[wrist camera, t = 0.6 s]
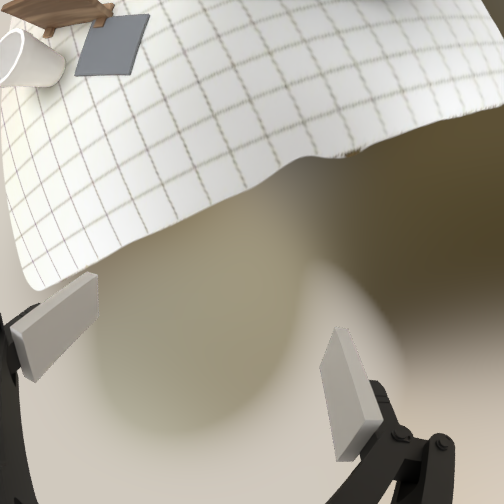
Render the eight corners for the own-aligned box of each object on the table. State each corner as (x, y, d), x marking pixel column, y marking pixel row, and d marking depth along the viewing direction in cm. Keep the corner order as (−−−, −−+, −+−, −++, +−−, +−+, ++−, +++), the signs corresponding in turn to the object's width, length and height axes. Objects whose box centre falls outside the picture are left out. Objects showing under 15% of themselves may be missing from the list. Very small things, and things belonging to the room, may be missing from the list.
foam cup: (77, 72, 36) (27, 54, 23) (41, 105, 37) (-10, 98, 25) (65, 38, 34) (21, 17, 21) (31, 70, 35) (-15, 58, 23)
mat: (95, 20, 33) (93, 19, 32) (149, 15, 33) (148, 13, 32) (76, 76, 36) (74, 75, 35) (130, 74, 36) (128, 74, 35)
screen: (52, 17, 32) (8, -5, 18) (116, 4, 32) (75, -31, 18) (43, 38, 33) (-4, 20, 20) (107, 28, 33) (60, -4, 20)
